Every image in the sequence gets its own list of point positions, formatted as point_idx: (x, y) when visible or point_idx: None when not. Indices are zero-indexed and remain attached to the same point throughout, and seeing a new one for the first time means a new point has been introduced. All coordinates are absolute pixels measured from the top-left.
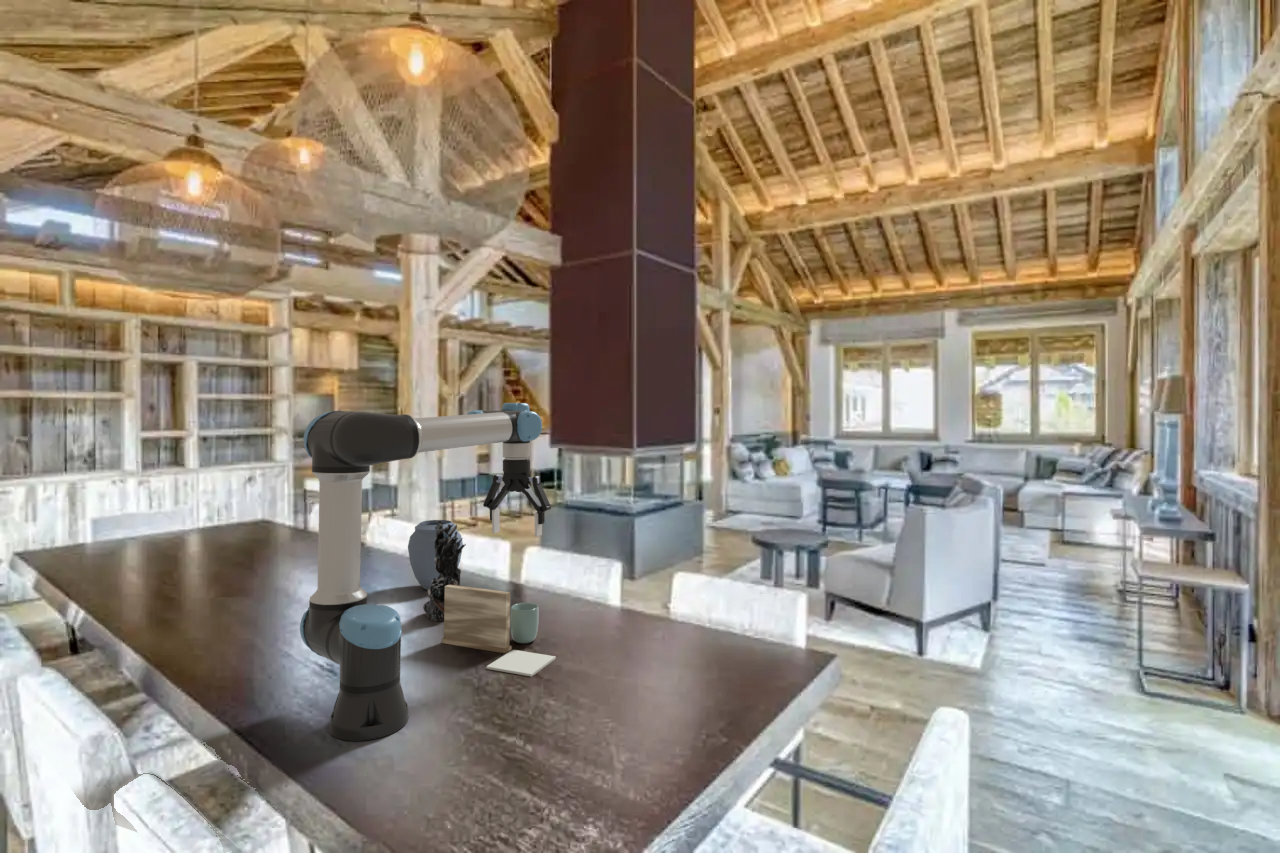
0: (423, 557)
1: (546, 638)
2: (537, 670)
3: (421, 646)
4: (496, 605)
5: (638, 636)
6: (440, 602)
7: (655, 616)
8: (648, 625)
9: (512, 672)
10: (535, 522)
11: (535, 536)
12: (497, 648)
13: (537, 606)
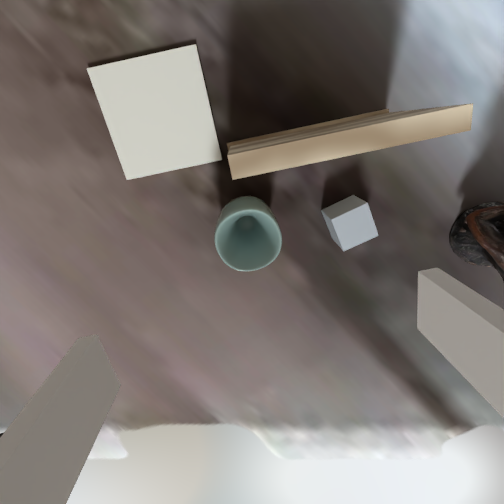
0: None
1: None
2: (98, 98)
3: (411, 64)
4: (260, 145)
5: None
6: (499, 212)
7: (150, 423)
8: (128, 389)
9: (132, 58)
10: (25, 425)
11: (90, 336)
12: (247, 139)
13: (224, 259)
